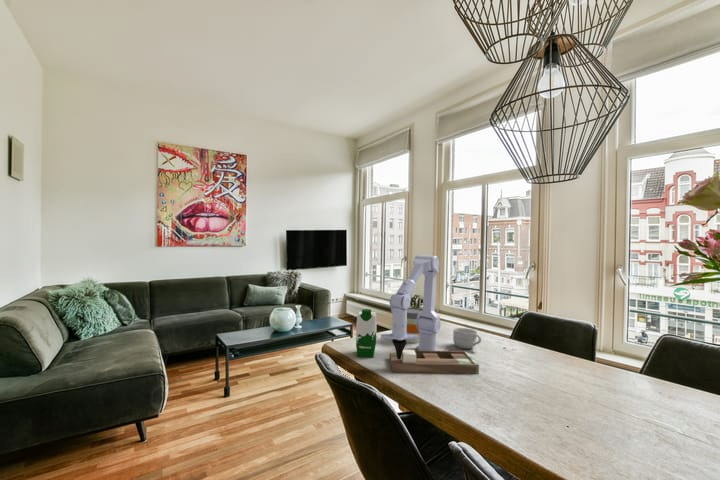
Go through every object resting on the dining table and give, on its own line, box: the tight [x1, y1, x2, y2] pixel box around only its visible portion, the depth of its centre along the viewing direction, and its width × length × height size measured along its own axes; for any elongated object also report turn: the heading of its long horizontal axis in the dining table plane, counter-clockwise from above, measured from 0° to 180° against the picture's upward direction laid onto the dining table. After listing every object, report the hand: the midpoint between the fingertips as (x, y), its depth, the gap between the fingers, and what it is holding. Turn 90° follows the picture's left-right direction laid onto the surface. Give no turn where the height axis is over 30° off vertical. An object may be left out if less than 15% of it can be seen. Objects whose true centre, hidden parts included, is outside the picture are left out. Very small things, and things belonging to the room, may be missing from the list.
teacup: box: [452, 327, 482, 350], centre depth 156 cm, size 14×11×8 cm
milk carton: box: [355, 308, 378, 358], centre depth 145 cm, size 9×9×20 cm
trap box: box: [389, 349, 480, 374], centre depth 135 cm, size 15×34×3 cm, turn 91°
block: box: [402, 349, 416, 363], centre depth 131 cm, size 5×5×4 cm
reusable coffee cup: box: [406, 307, 423, 344], centre depth 166 cm, size 13×12×15 cm
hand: (398, 358), depth 132 cm, fingers closed
